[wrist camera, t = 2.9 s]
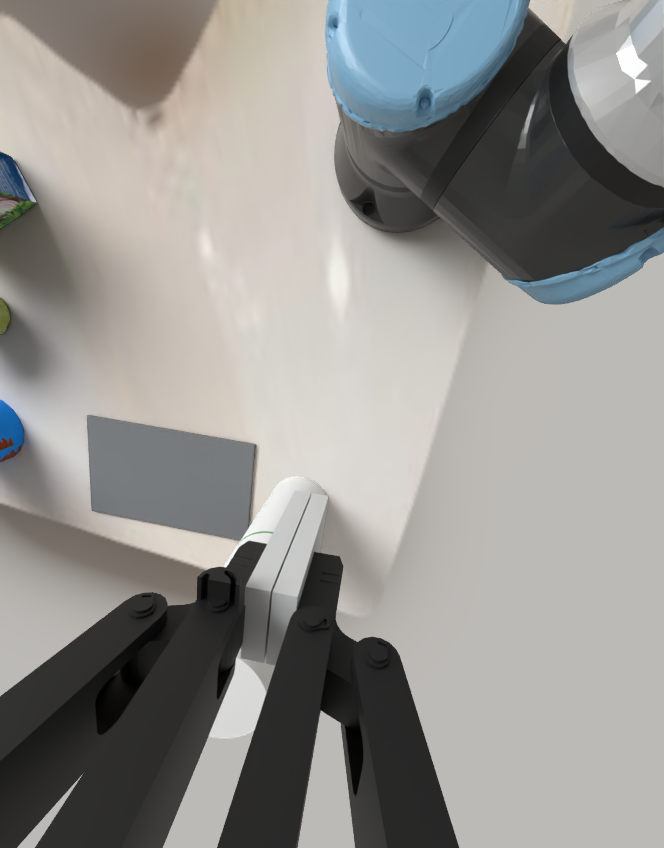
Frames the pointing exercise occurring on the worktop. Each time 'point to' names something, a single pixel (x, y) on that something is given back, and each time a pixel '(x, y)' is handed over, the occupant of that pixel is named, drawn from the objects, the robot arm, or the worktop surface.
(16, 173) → the blue food package
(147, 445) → the mat
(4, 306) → the plant pot
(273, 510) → the container
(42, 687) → the robot arm
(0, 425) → the thermos
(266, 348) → the worktop surface
